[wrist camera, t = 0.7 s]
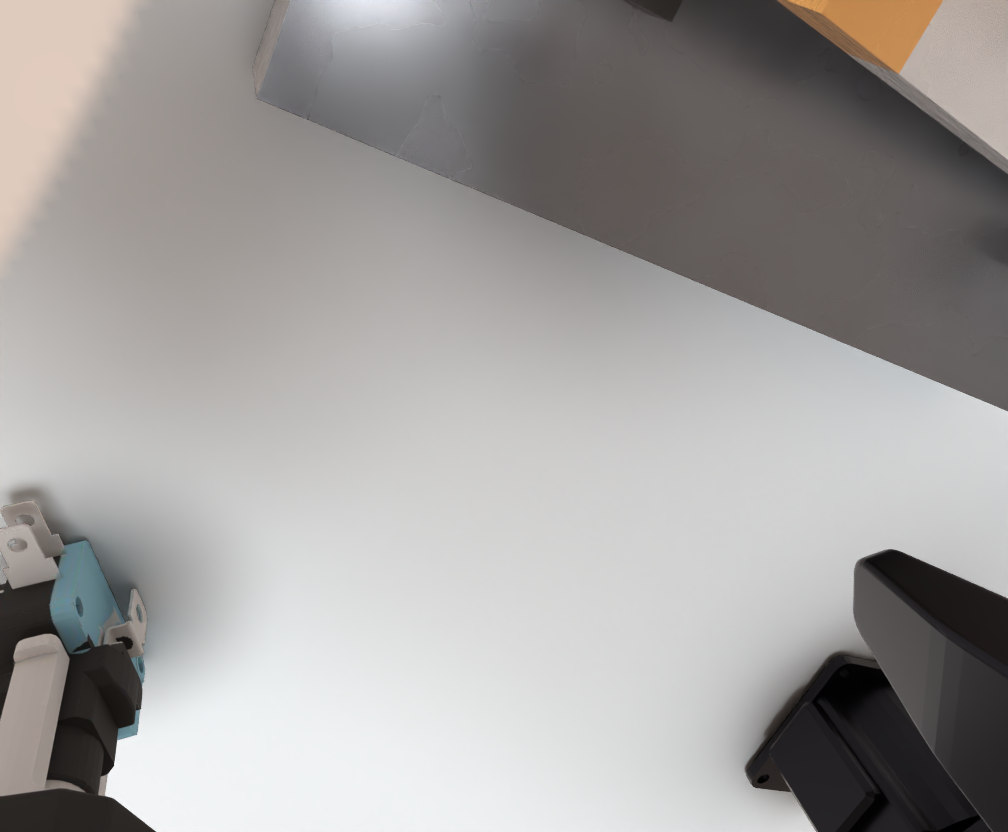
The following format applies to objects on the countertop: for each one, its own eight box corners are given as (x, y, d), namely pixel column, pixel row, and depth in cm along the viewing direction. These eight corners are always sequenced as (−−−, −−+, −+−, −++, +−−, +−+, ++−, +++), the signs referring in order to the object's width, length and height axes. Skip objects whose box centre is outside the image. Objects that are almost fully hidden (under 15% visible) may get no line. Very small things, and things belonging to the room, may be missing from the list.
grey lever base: (1252, -22, 23) (1530, 7, 18) (965, 374, 28) (1128, 485, 23) (507, -684, 14) (660, -985, 9) (252, 67, 18) (262, 141, 14)
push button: (-94, 516, 21) (-297, 926, 13) (139, 463, 22) (89, 817, 14) (16, 707, 25) (-87, 1125, 17) (214, 655, 26) (210, 1028, 17)
